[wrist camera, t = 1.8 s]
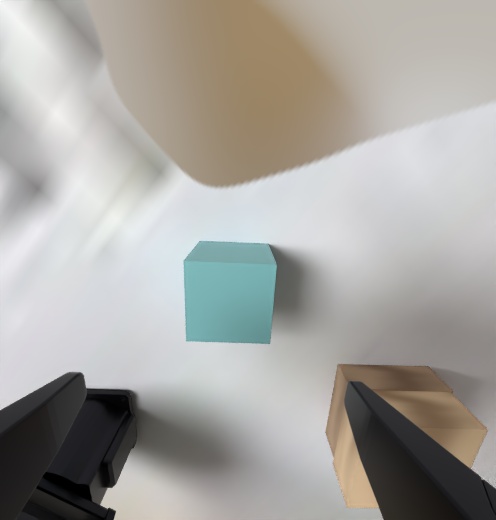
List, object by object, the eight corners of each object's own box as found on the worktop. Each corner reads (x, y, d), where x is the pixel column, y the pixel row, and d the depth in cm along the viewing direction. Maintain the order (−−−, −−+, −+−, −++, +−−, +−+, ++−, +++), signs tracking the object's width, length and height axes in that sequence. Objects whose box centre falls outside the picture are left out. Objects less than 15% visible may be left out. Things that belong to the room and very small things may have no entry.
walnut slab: (324, 428, 24) (335, 462, 21) (336, 361, 21) (350, 388, 18) (404, 430, 24) (426, 463, 21) (425, 363, 21) (452, 390, 19)
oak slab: (332, 463, 21) (346, 507, 18) (348, 389, 18) (367, 426, 16) (423, 464, 21) (452, 509, 18) (450, 392, 19) (487, 429, 16)
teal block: (200, 302, 19) (186, 341, 14) (200, 240, 18) (183, 260, 13) (263, 304, 19) (269, 343, 14) (268, 243, 18) (276, 264, 13)
